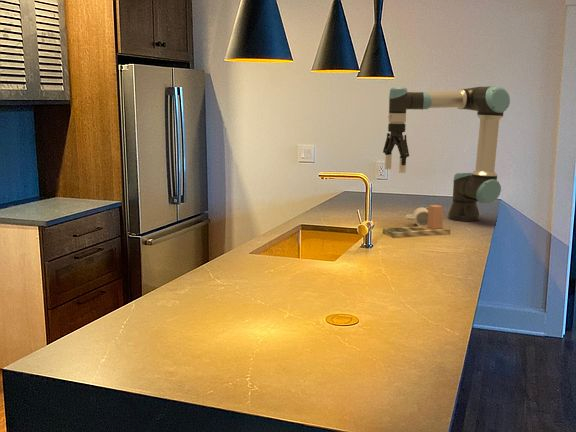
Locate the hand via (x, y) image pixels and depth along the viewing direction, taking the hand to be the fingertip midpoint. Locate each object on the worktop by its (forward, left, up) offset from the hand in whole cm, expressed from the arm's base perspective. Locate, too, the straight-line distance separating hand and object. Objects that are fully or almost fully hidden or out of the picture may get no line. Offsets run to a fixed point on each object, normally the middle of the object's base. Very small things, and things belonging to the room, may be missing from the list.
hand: (395, 170), depth 293 cm
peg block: (-15, +11, -27) cm, 33 cm away
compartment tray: (-6, +11, -27) cm, 29 cm away
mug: (-16, -5, -27) cm, 32 cm away
